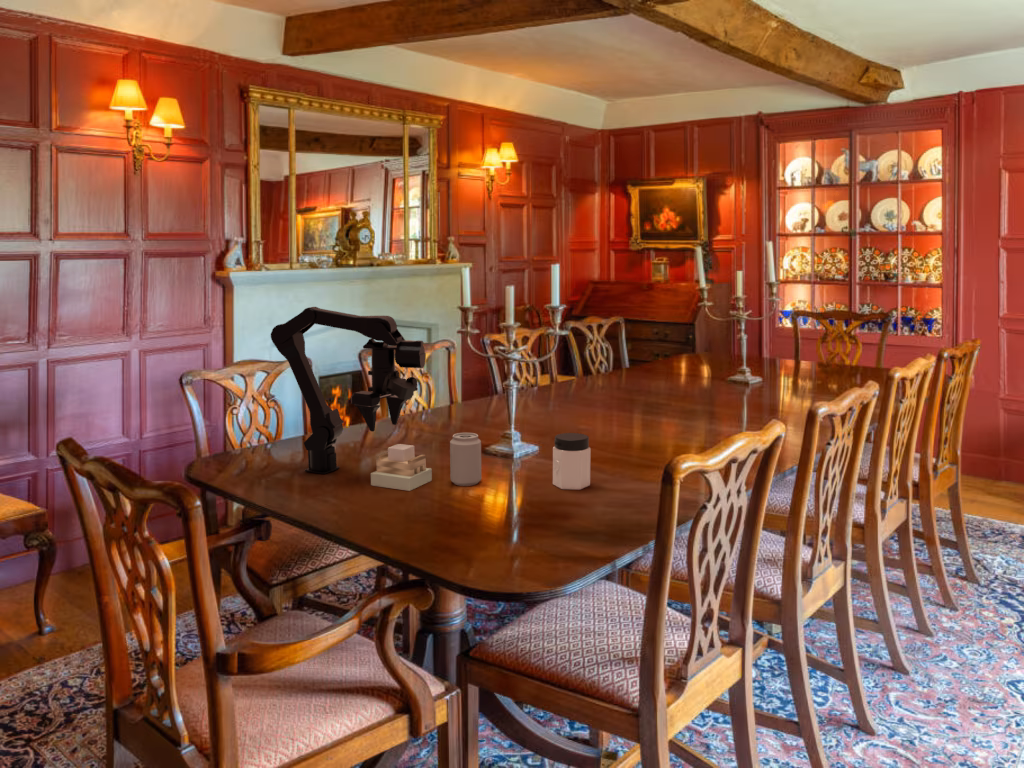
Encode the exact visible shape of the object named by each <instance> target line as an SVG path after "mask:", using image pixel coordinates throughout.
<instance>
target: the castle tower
mask: <svg viewBox="0 0 1024 768" xmlns="http://www.w3.org/2000/svg"><path fill="white" fill-rule="evenodd" d="M375 458H376V459H375V460H376V461H375V462H376V463H375V464H376V471H377V472H383V473H390V474H397V475H404V476H414V473H415V474H418V473H420V471H425V470H426V468H427V462H426V459H427V457H426V454H420V455H418V456H415V458H412V459H410V460H408V461H405V462H401V461H393V460H388V451H387V452H384V453H382V454H379V455H376V456H375Z"/></svg>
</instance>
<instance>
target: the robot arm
mask: <svg viewBox="0 0 1024 768" xmlns="http://www.w3.org/2000/svg"><path fill="white" fill-rule="evenodd" d="M314 325H319V326H324V327H330V328H336V329H340V330H347V331H352V332H357V334H358V333H359V334H361V336H362V335H363V336H365V337H367V338H369V339H368V341H367V342H365V344H364V345H363V346H362V348H363V349H366V350H371V352H370V353H371V369H370V370H367V376H371V386H368V388H367V391H366V390H360V391H357V392H353V393H352V395H350V396H351V397H350V401H351V405H354V408H357V409H358V411H359V412H360V414H361V416H362V417H363V419H364V422H365V423H366V426H367V428H368V429H369V431H370V432H373V433H374V432H375V429H376V422H377V421H376V419H377V418H376V417H377V410H379V408H380V407H381V405H379V404H380V402H381V400H382V399H384V398H386V402H387V404H386V405H387V408H388V411H389V418H390V422H391V425H393V426H397V424H398V421H399V418H400V415H401V412H402V409H403V406H404V404H405V403H406V402H407V401H409V400H410V399H412V398H413V396H415V395H414V394H415V393H414V392H416V391H418V390H419V389H418V379H417V378H416V377H414V376H409V377H408V378H402V377H400V372H399V370H397V369H396V367H395V366H396V365H398V366H399V368H405V369H406V368H407V369H424V367H425V364H426V360H427V359H426V351H425V346H424V341H423V340H406V339H405V337H404V336H403V335H402V333H401V331H399V329H398V325H397V322H396V321H395V319H394V317H392V316H390V315H357V314H352V313H346V312H340V311H336V310H331V309H325V308H319V307H317V306H310V307H306V308H305V309H303V310H301V312H299V314H297V315H295V316H294V317H292V318H291V319H289V320H288V321H286V322H284V323H280V324H277V325H275V326H274V327H273V328H272V330H271V333H270V339H271V341H272V343H273V344H274V346H275V348H276V349H277V351H278V353H280V354H281V355H282V356H283V357H284V358H285V359H286V361H287V362H288V364H289V366H290V369H291V372H292V373H293V376H294V378H295V380H296V383H297V386H298V388H299V390H300V392H301V394H302V398H303V399H304V402H305V404H306V406H307V409H308V411H309V425H310V429H311V435H310V436H308V438H307V439H305V441H304V442H303V445H304V448H305V450H306V451H307V461H308V468H305V469H304V472H307V473H314V474H320V475H325V474H328V473H331V472H333V471H336V470H339V469H340V466H339V465H337V453H336V449H335V448H336V447H335V446H333V445H335V444H336V443H337V440H338V438H339V437H340V436H341V435H342V434H343V431H344V425H343V424H344V423H345V421H344V420H343V419H342V418H341V416H340V412H339V408H335V409H332V408H331V407H330V406H329V404H327V402H326V399H325V397H324V395H323V392H322V390H321V388H320V385H319V383H318V381H317V378H316V376H315V374H314V372H313V368H312V367H311V363H310V362H309V360H308V356H307V354H306V342H305V337H304V334H305V333H306V332H308V331H309V330H310V329H311V328H312V327H313V326H314ZM395 364H396V365H395Z"/></svg>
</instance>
